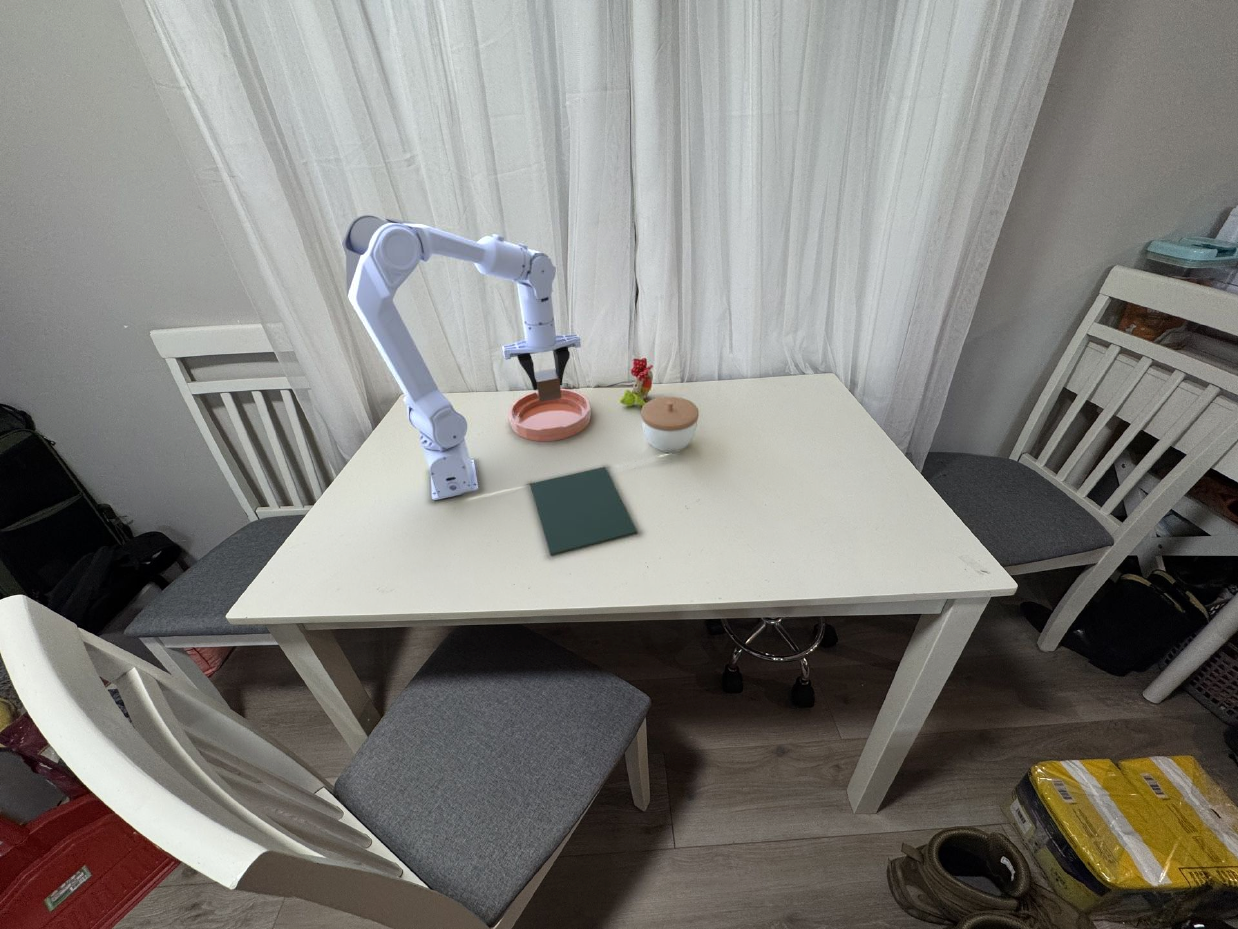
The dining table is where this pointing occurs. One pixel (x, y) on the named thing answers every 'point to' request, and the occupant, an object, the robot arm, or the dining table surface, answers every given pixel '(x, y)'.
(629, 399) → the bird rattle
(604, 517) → the mat
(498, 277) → the robot arm
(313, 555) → the dining table surface
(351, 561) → the dining table surface
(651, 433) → the trinket box
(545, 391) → the block
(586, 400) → the round pink tray
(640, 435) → the dining table surface
